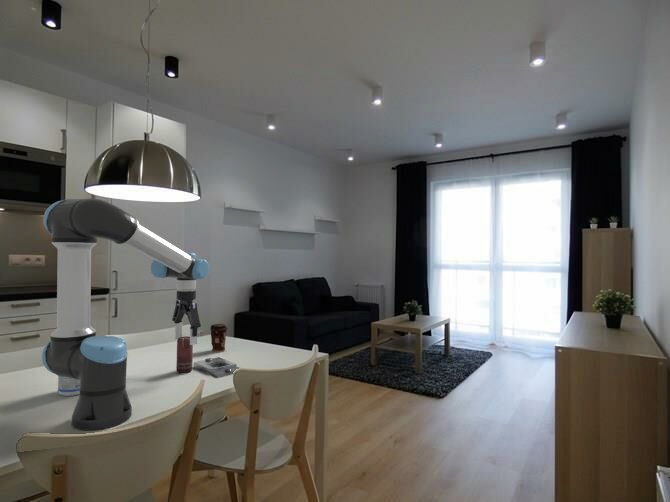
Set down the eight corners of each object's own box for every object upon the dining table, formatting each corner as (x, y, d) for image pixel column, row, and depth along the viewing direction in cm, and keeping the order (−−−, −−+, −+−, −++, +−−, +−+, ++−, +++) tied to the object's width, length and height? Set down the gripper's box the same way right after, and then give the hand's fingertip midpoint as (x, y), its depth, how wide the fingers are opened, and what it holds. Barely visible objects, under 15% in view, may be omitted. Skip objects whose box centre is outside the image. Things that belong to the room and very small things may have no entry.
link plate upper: (210, 374, 159) (210, 368, 159) (193, 366, 169) (193, 360, 169) (236, 368, 167) (236, 362, 167) (218, 361, 177) (218, 355, 177)
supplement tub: (68, 387, 141) (69, 346, 141) (95, 387, 141) (97, 346, 142) (51, 397, 131) (52, 353, 131) (81, 396, 132) (82, 352, 132)
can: (175, 374, 158) (176, 339, 158) (177, 369, 164) (178, 336, 164) (191, 373, 159) (192, 339, 159) (192, 369, 166) (193, 335, 166)
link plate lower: (217, 377, 155) (217, 373, 155) (199, 369, 165) (199, 365, 165) (243, 371, 164) (243, 367, 164) (225, 364, 174) (225, 360, 174)
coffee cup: (205, 351, 194) (206, 325, 194) (215, 348, 202) (216, 322, 202) (220, 353, 192) (221, 326, 192) (230, 349, 200) (230, 324, 200)
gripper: (209, 292, 156) (209, 345, 156) (181, 287, 173) (180, 335, 173) (191, 293, 151) (191, 348, 151) (164, 288, 168) (163, 337, 168)
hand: (185, 341), depth 162 cm, fingers open, 13 cm apart
